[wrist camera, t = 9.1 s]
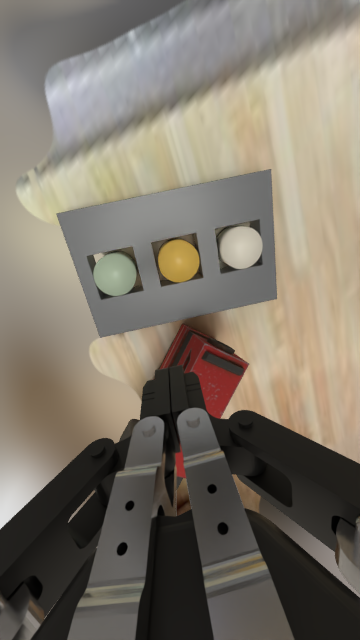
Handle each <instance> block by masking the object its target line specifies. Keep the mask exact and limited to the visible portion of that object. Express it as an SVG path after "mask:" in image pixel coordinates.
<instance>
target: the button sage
mask: <svg viewBox="0 0 360 640" xmlns="http://www.w3.org/2000/svg"><path fill="white" fill-rule="evenodd" d="M137 272H138V270H137V265H136V262H135V261H134V259H133V258H132V257H131V256H130V255H129V254H127V253H125V252H122V251H113V252H110V253H108V254H106V255H105V256H104V257H103V258H101V259H100V260H99V261H98V262H97V263H96V265H95V267H94V272H93V276H94V281H95V283H96V285H97V286H98V288H99V289H100V290H101V291H103V292H104V293H106V294H108V295H112V296H121V295H124V294H126V293H128V292H129V291H130V290H131V289H132V288H133V286H134V284H135V281H136V277H137Z"/></svg>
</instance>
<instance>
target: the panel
mask: <svg viewBox="0 0 360 640" xmlns="http://www.w3.org/2000/svg"><path fill="white" fill-rule="evenodd" d="M57 217H58V220H59V223H60V226H61V229H62V231H63V234H64V237H65V240H66V243H67V245H68V248H69V251H70V254H71V257H72V259H73V262H74V265H75V268H76V271H77V274H78V277H79V279H80V282H81V285H82V287H83V291H84V293H85V296H86V299H87V302H88V305H89V308H90V310H91V313H92V316H93V319H94V322H95V324H96V327H97V330H98V333H99V336H100V338H101V337H106V336H110V335H115V334H119V333H124V332H128V331H133V330H137V329H142V328H147V327H151V326H156V325H160V324H165V323H169V322H174V321H178V320H183V319H187V318H192V317H197V316H201V315H206V314H210V313H215V312H219V311H224V310H228V309H233V308H237V307H242V306H247V305H251V304H256V303H260V302H265V301H269V300H274V299H277V286H276V265H275V243H274V221H273V199H272V178H271V169H269V170H264V171H259V172H254V173H250V174H245V175H240V176H235V177H230V178H226V179H221V180H216V181H211V182H206V183H202V184H197V185H192V186H187V187H182V188H178V189H173V190H168V191H163V192H158V193H154V194H149V195H144V196H139V197H134V198H129V199H125V200H120V201H115V202H110V203H105V204H101V205H96V206H91V207H86V208H81V209H77V210H72V211H67V212H62V213H57ZM249 221H250V228H252V229H254V230H256V231H257V232H258V233H259V235H260V237H261V239H262V244H263V247H262V253H261V255H260V257H259V259H258V260H257V261H256V262H255V263H254V264H253V265H252V266H250V267H248V268H245V269H236V268H233V267H231V266H228V267H223V268H220V266H219V258H218V250H217V243H216V235H215V229H216V228H221V227H225V226H230V225H235V224H239V223H244V222H249ZM192 233H193V238H194V244H195V249H196V251H197V252H198V255H199V267H198V269H199V273H196V274H195V275H194V276H193V277H192V278H191V279H189V280H187V281H185V282H173V281H170V280H163V281H160V278H159V273H158V269H157V265H156V260H155V256H154V251H153V247H152V243H151V242H155V241H159V240H164V239H169V238H174V237H178V236H183V235H188V234H192ZM131 246H132V247H133V250H134V254H135V258H136V262H137V266H138V270H139V274H140V277H141V281H142V285H140V286H136V287H133V288H132V289H131V290H130V291H129V292H128V293H126V294H124V295H121V296H112V295H108V294H106V293H104V292H103V291H101V290H100V289H99V288H98V286H97V285H96V283H95V281H94V276H93V272H94V267H95V265H96V262H95V259H94V256H93V254H98V253H103V252H108V251H112V250H117V249H122V248H126V247H131Z"/></svg>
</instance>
